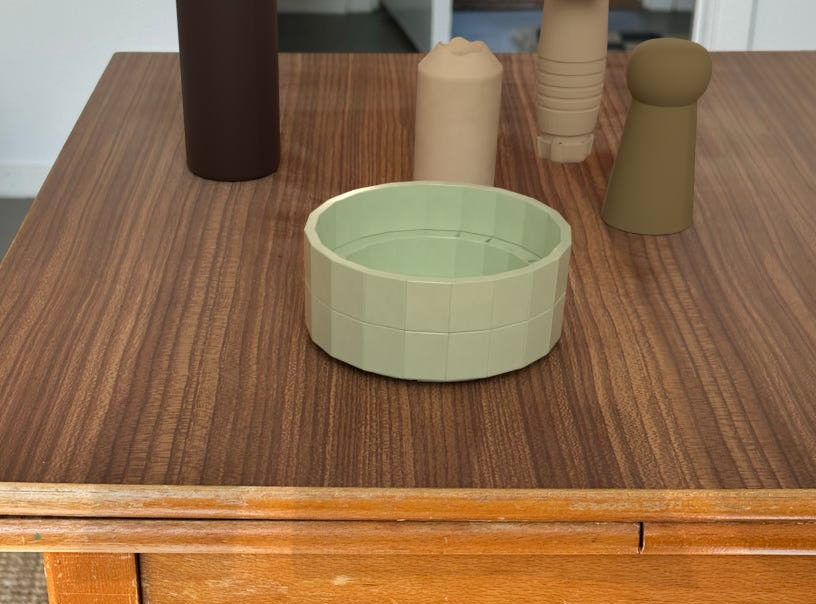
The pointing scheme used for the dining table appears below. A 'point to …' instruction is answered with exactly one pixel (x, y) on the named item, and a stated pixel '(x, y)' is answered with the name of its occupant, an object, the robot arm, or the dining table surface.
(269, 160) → the bottle
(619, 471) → the dining table surface
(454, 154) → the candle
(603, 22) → the handle
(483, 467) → the dining table surface
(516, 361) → the bowl
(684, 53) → the olive brown knobbed cone
